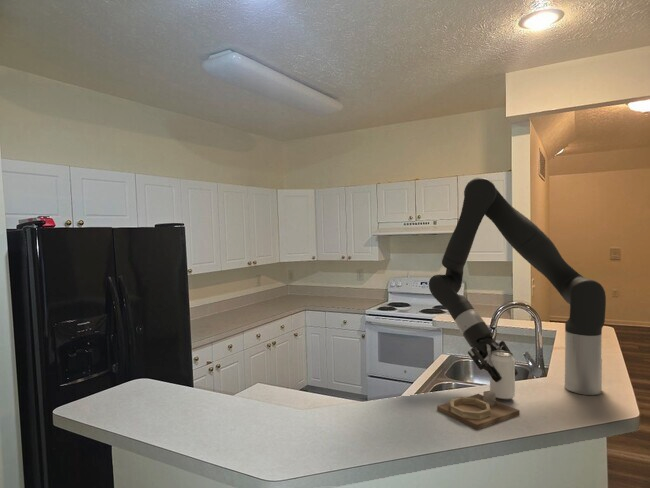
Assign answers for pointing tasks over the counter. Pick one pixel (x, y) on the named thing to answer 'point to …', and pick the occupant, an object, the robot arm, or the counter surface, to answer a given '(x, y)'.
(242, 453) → the counter surface
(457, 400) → the board
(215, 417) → the counter surface
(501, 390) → the can
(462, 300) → the robot arm
